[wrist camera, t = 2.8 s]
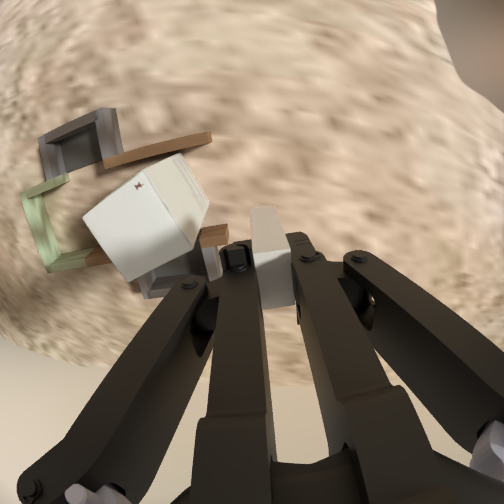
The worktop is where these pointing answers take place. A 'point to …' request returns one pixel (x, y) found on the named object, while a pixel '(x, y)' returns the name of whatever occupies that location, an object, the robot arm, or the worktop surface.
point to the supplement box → (150, 217)
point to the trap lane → (111, 152)
